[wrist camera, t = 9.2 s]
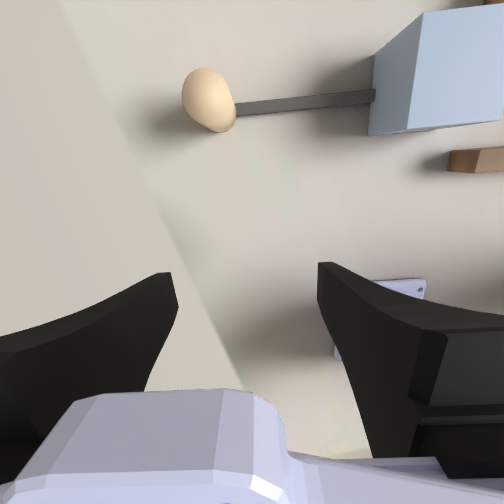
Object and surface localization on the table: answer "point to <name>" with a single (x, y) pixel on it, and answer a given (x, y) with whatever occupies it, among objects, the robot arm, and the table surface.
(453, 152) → the walnut lane
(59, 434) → the robot arm
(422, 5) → the table surface
